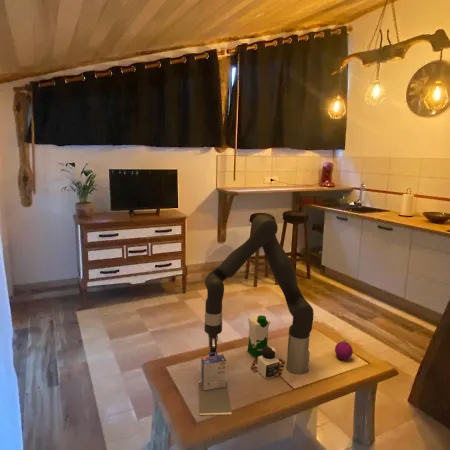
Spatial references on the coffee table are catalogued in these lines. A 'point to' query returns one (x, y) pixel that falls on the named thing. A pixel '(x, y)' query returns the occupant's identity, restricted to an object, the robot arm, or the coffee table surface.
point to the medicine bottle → (268, 363)
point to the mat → (214, 401)
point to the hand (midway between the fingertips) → (212, 357)
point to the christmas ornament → (343, 350)
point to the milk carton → (257, 335)
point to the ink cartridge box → (213, 371)
